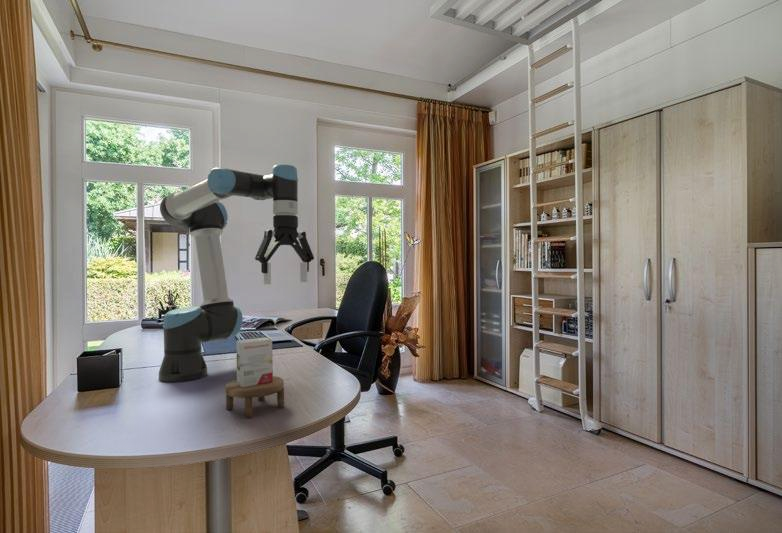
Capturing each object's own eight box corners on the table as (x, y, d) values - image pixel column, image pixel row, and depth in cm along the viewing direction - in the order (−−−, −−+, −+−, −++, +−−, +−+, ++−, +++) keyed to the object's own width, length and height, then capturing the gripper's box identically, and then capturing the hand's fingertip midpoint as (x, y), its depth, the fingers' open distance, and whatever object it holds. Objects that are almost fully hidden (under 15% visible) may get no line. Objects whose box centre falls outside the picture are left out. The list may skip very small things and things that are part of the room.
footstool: (215, 409, 116) (215, 384, 116) (264, 395, 127) (264, 372, 127) (244, 423, 106) (244, 395, 106) (295, 407, 117) (294, 382, 117)
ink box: (267, 378, 121) (267, 336, 121) (273, 382, 117) (273, 339, 116) (235, 383, 116) (235, 340, 116) (240, 388, 112) (240, 343, 112)
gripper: (256, 211, 123) (257, 285, 123) (324, 217, 141) (324, 281, 142) (242, 213, 127) (243, 284, 128) (310, 218, 146) (310, 280, 147)
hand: (286, 283), depth 135 cm, fingers open, 13 cm apart
